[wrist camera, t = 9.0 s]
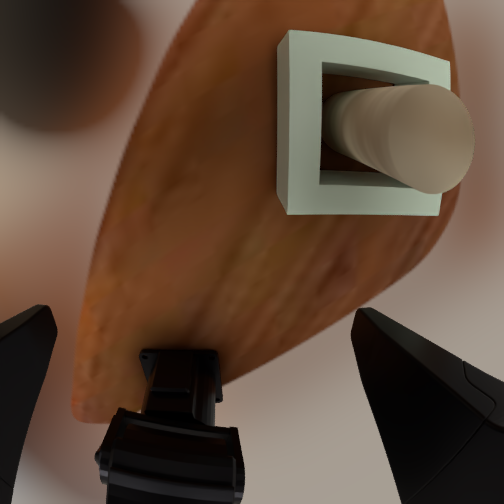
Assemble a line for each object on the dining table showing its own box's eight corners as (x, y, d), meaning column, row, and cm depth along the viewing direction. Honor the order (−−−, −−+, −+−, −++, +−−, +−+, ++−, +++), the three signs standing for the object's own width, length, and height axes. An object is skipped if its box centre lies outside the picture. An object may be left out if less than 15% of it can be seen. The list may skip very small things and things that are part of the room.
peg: (377, 156, 18) (467, 197, 10) (317, 153, 18) (384, 191, 10) (379, 95, 16) (477, 97, 8) (318, 88, 16) (391, 74, 8)
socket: (406, 196, 19) (438, 215, 16) (276, 193, 19) (287, 214, 15) (413, 66, 15) (449, 62, 12) (277, 46, 15) (288, 29, 11)
